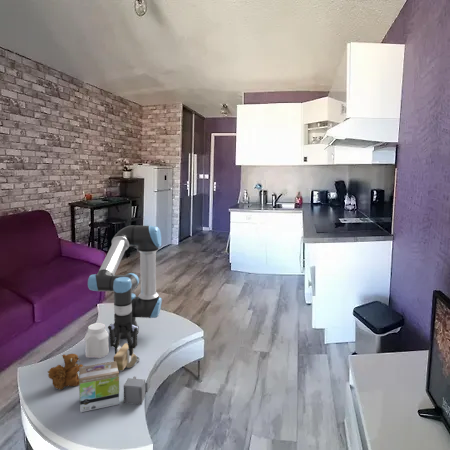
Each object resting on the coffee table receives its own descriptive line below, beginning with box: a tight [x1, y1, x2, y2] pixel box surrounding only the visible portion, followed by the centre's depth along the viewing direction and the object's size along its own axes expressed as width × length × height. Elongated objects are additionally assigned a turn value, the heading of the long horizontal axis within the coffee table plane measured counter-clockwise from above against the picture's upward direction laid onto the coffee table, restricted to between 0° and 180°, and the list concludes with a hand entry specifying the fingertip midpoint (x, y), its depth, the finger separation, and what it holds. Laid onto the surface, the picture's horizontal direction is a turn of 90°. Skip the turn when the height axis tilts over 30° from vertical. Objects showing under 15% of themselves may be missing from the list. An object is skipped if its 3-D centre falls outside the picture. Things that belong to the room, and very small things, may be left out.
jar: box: [84, 322, 110, 359], centre depth 181 cm, size 12×10×15 cm
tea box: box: [78, 360, 120, 413], centre depth 144 cm, size 15×10×15 cm
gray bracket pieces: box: [123, 375, 151, 405], centre depth 150 cm, size 12×8×8 cm, turn 175°
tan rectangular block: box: [113, 342, 133, 371], centre depth 157 cm, size 12×4×6 cm, turn 172°
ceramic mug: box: [125, 352, 141, 369], centre depth 173 cm, size 11×8×8 cm
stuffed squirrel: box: [47, 353, 84, 391], centre depth 155 cm, size 10×14×13 cm
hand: (124, 360), depth 158 cm, fingers closed on tan rectangular block, 4 cm apart
